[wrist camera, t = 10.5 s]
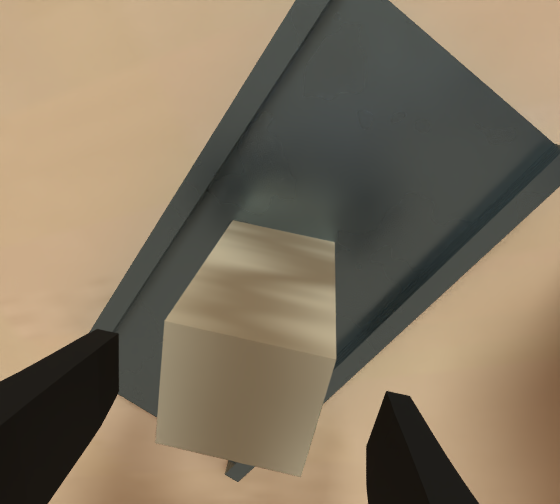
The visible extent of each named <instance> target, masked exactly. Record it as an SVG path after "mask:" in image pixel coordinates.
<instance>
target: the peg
mask: <svg viewBox="0 0 560 504" xmlns="http://www.w3.org/2000/svg"><path fill="white" fill-rule="evenodd" d="M335 362H336V300H335V242H331V241H327V240H322V239H318V238H313V237H308V236H304V235H299V234H294V233H290V232H285V231H280V230H276V229H271V228H266V227H262V226H257V225H252V224H248V223H243V222H238V221H234V220H233V221H232V222H231V224H230V225H229V227H228V228H227V229H226V231H225V232H224V234H223V235H222V237H221V238H220V240H219V241H218V243H217V244H216V246H215V247H214V249H213V250H212V252H211V253H210V255H209V256H208V257H207V259H206V260H205V262H204V263H203V265H202V266H201V268H200V269H199V271H198V272H197V274H196V275H195V277H194V278H193V280H192V281H191V283H190V284H189V285H188V287H187V288H186V290H185V291H184V293H183V294H182V296H181V297H180V299H179V300H178V302H177V303H176V305H175V306H174V308H173V309H172V311H171V312H170V313H169V315H168V316H167V318H166V319H165V321H164V334H163V347H162V360H161V374H160V387H159V401H158V414H157V427H156V441H155V443H157V444H162V445H166V446H170V447H174V448H179V449H183V450H187V451H191V452H196V453H200V454H204V455H208V456H213V457H217V458H221V459H225V460H230V461H234V462H238V463H242V464H247V465H251V466H255V467H260V468H264V469H268V470H272V471H277V472H281V473H285V474H289V475H294V476H298V477H301V475H302V471H303V468H304V465H305V461H306V458H307V455H308V451H309V448H310V445H311V442H312V438H313V435H314V432H315V428H316V425H317V422H318V418H319V415H320V412H321V409H322V405H323V402H324V399H325V395H326V392H327V389H328V385H329V382H330V379H331V375H332V372H333V369H334V366H335Z"/></svg>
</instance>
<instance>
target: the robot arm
mask: <svg viewBox="0 0 560 504" xmlns="http://www.w3.org/2000/svg"><path fill="white" fill-rule="evenodd" d="M118 392H119V333H114V332H110V331H105V330H100V329H96V330H94V331H92V332H90V333H88V334H86V335H84V336H83V337H81V338H79V339H77V340H76V341H74V342H72V343H70V344H69V345H67V346H65V347H63V348H61V349H60V350H58V351H56V352H54V353H53V354H51V355H49V356H47V357H45V358H44V359H42V360H40V361H38V362H36V363H35V364H33V365H31V366H29V367H27V368H25V369H24V370H22V371H20V372H18V373H16V374H14V375H12V376H10V377H8V378H6V379H4V380H2V381H0V504H48V502H49V501H50V500H51V498H52V497H53V495H54V494H55V492H56V491H57V489H58V488H59V487H60V485H61V484H62V482H63V481H64V479H65V478H66V476H67V475H68V474H69V472H70V471H71V469H72V468H73V466H74V465H75V463H76V462H77V461H78V459H79V458H80V456H81V455H82V453H83V452H84V450H85V449H86V447H87V446H88V445H89V443H90V442H91V440H92V439H93V437H94V436H95V434H96V433H97V431H98V430H99V428H100V427H101V425H102V423H103V421H104V419H105V418H106V416H107V414H108V412H109V410H110V408H111V406H112V404H113V402H114V400H115V398H116V396H117V394H118ZM366 484H367V496H368V504H479V503H478V501H477V500H476V499H475V497H474V496H473V494H472V493H471V492H470V490H469V489H468V487H467V486H466V484H465V483H464V481H463V480H462V478H461V477H460V475H459V474H458V472H457V471H456V469H455V468H454V466H453V465H452V463H451V462H450V460H449V459H448V457H447V456H446V454H445V452H444V451H443V449H442V448H441V446H440V445H439V443H438V441H437V440H436V438H435V436H434V435H433V433H432V432H431V430H430V428H429V427H428V425H427V423H426V422H425V420H424V418H423V417H422V415H421V413H420V412H419V410H418V408H417V407H416V405H415V404H414V402H413V400H412V399H411V397H410V396H407V395H402V394H398V393H393V392H388V391H386V393H385V396H384V399H383V402H382V404H381V407H380V410H379V413H378V416H377V418H376V421H375V424H374V427H373V429H372V432H371V435H370V438H369V441H368V443H367V446H366Z"/></svg>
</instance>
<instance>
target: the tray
mask: <svg viewBox="0 0 560 504" xmlns="http://www.w3.org/2000/svg"><path fill="white" fill-rule="evenodd" d="M559 186H560V145H557V144H554V143H553V142H552V141H550V140H549V139H548V138H547V137H546V136H545V135H544V134H542V133H541V132H540V131H539V130H538V129H537V128H535V127H534V126H533V125H532V124H531V123H530V122H529V121H527V120H526V119H525V118H524V117H523V116H522V115H520V114H519V113H518V112H517V111H516V110H515V109H513V108H512V107H511V106H510V105H509V104H508V103H507V102H505V101H504V100H503V99H502V98H501V97H500V96H498V95H497V94H496V93H495V92H494V91H493V90H492V89H490V88H489V87H488V86H487V85H486V84H485V83H483V82H482V81H481V80H480V79H479V78H478V77H477V76H475V75H474V74H473V73H472V72H471V71H470V70H468V69H467V68H466V67H465V66H464V65H463V64H461V63H460V62H459V61H458V60H457V59H456V58H455V57H453V56H452V55H451V54H450V53H449V52H448V51H446V50H445V49H444V48H443V47H442V46H441V45H440V44H438V43H437V42H436V41H435V40H434V39H433V38H431V37H430V36H429V35H428V34H427V33H426V32H424V31H423V30H422V29H421V28H420V27H419V26H418V25H416V24H415V23H414V22H413V21H412V20H411V19H409V18H408V17H407V16H406V15H405V14H404V13H403V12H401V11H400V10H399V9H398V8H397V7H396V6H394V5H393V4H392V3H391V2H390V1H389V0H296V1H295V2H294V4H293V6H292V7H291V9H290V10H289V12H288V14H287V15H286V17H285V18H284V20H283V22H282V23H281V25H280V26H279V28H278V30H277V31H276V33H275V35H274V36H273V38H272V39H271V41H270V43H269V44H268V46H267V47H266V49H265V51H264V52H263V54H262V55H261V57H260V59H259V60H258V62H257V63H256V65H255V67H254V68H253V70H252V72H251V73H250V75H249V76H248V78H247V80H246V81H245V83H244V84H243V86H242V88H241V89H240V91H239V92H238V94H237V96H236V97H235V99H234V100H233V102H232V104H231V105H230V107H229V109H228V110H227V112H226V113H225V115H224V117H223V118H222V120H221V121H220V123H219V125H218V126H217V128H216V129H215V131H214V133H213V134H212V136H211V138H210V139H209V141H208V142H207V144H206V146H205V147H204V149H203V150H202V152H201V154H200V155H199V157H198V158H197V160H196V162H195V163H194V165H193V166H192V168H191V170H190V171H189V173H188V175H187V176H186V178H185V179H184V181H183V183H182V184H181V186H180V187H179V189H178V191H177V192H176V194H175V195H174V197H173V199H172V200H171V202H170V204H169V205H168V207H167V208H166V210H165V212H164V213H163V215H162V216H161V218H160V220H159V221H158V223H157V224H156V226H155V228H154V229H153V231H152V232H151V234H150V236H149V237H148V239H147V241H146V242H145V244H144V245H143V247H142V249H141V250H140V252H139V253H138V255H137V257H136V258H135V260H134V261H133V263H132V265H131V266H130V268H129V270H128V271H127V273H126V274H125V276H124V278H123V279H122V281H121V282H120V284H119V286H118V287H117V289H116V290H115V292H114V294H113V295H112V297H111V298H110V300H109V302H108V303H107V305H106V307H105V308H104V310H103V311H102V313H101V315H100V316H99V318H98V319H97V321H96V323H95V324H94V326H93V327H92V329H91V331H90V332H92V331H94V330H96V329H100V330H105V331H110V332H114V333H119V392H118V394H119V395H120V396H122V397H124V398H125V399H127V400H129V401H130V402H132V403H134V404H135V405H137V406H139V407H140V408H142V409H144V410H145V411H147V412H149V413H150V414H152V415H154V416H155V417H157V414H158V401H159V387H160V374H161V360H162V347H163V334H164V321H165V319H166V318H167V316H168V315H169V313H170V312H171V311H172V309H173V308H174V306H175V305H176V303H177V302H178V300H179V299H180V297H181V296H182V294H183V293H184V291H185V290H186V288H187V287H188V285H189V284H190V283H191V281H192V280H193V278H194V277H195V275H196V274H197V272H198V271H199V269H200V268H201V266H202V265H203V263H204V262H205V260H206V259H207V257H208V256H209V255H210V253H211V252H212V250H213V249H214V247H215V246H216V244H217V243H218V241H219V240H220V238H221V237H222V235H223V234H224V232H225V231H226V229H227V228H228V227H229V225H230V224H231V222H232V221H233V220H234V221H238V222H243V223H248V224H252V225H257V226H262V227H266V228H271V229H276V230H280V231H285V232H290V233H294V234H299V235H304V236H308V237H313V238H318V239H322V240H327V241H331V242H335V300H336V362H335V366H334V369H333V372H332V375H331V379H330V382H329V385H328V389H327V392H326V395H325V399H324V402H323V403H325V402H326V401H327V400H328V399H329V398H330V397H331V396H332V395H333V394H334V393H335V392H337V391H338V390H339V389H340V388H341V387H342V386H343V385H344V384H345V383H346V382H347V381H349V380H350V379H351V378H352V377H353V376H354V375H355V374H356V373H357V372H358V371H359V370H360V369H362V368H363V367H364V366H365V365H366V364H367V363H368V362H369V361H370V360H371V359H372V358H374V357H375V356H376V355H377V354H378V353H379V352H380V351H381V350H382V349H383V348H384V347H385V346H387V345H388V344H389V343H390V342H391V341H392V340H393V339H394V338H395V337H396V336H397V335H399V334H400V333H401V332H402V331H403V330H404V329H405V328H406V327H407V326H408V325H409V324H410V323H412V322H413V321H414V320H415V319H416V318H417V317H418V316H419V315H420V314H421V313H422V312H424V311H425V310H426V309H427V308H428V307H429V306H430V305H431V304H432V303H433V302H434V301H435V300H437V299H438V298H439V297H440V296H441V295H442V294H443V293H444V292H445V291H446V290H447V289H449V288H450V287H451V286H452V285H453V284H454V283H455V282H456V281H457V280H458V279H459V278H460V277H462V276H463V275H464V274H465V273H466V272H467V271H468V270H469V269H470V268H471V267H472V266H474V265H475V264H476V263H477V262H478V261H479V260H480V259H481V258H482V257H483V256H484V255H486V254H487V253H488V252H489V251H490V250H491V249H492V248H493V247H494V246H495V245H496V244H497V243H499V242H500V241H501V240H502V239H503V238H504V237H505V236H506V235H507V234H508V233H509V232H511V231H512V230H513V229H514V228H515V227H516V226H517V225H518V224H519V223H520V222H521V221H522V220H524V219H525V218H526V217H527V216H528V215H529V214H530V213H531V212H532V211H533V210H534V209H536V208H537V207H538V206H539V205H540V204H541V203H542V202H543V201H544V200H545V199H546V198H547V197H549V196H550V195H551V194H552V193H553V192H554V191H555V190H556V189H557V188H558V187H559ZM90 332H89V333H90ZM254 467H255V466H251V465H247V464H242V463H238V462H234V461H230V460H228V464H227V468H226V472H225V475H227V476H228V477H230V478H232V479H233V480H235V481H237V482H239V481H240V480H241V479H242V478H243V477H244V476H245V475H246V474H247V473H248V472H250V471H251V470H252V469H253V468H254Z"/></svg>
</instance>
